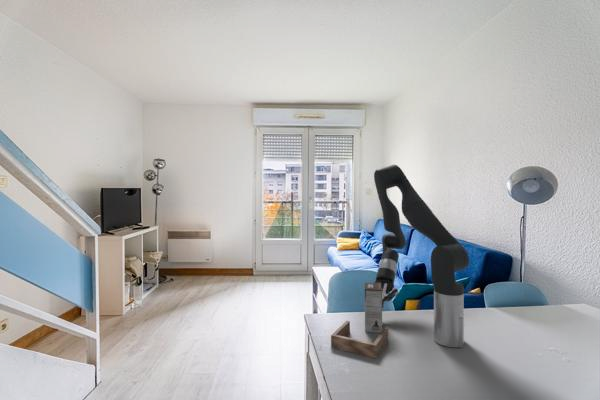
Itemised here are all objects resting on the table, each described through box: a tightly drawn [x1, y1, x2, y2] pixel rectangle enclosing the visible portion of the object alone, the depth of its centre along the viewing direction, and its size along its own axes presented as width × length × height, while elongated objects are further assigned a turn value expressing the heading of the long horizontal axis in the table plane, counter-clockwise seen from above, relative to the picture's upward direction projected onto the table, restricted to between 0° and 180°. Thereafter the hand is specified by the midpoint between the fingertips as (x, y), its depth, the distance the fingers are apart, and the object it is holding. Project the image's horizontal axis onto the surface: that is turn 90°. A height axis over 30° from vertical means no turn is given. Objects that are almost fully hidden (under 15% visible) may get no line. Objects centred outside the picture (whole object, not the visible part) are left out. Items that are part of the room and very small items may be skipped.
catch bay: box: [330, 320, 389, 359], centre depth 111 cm, size 15×14×4 cm
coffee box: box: [364, 282, 383, 334], centre depth 124 cm, size 9×6×16 cm
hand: (378, 309), depth 130 cm, fingers closed
